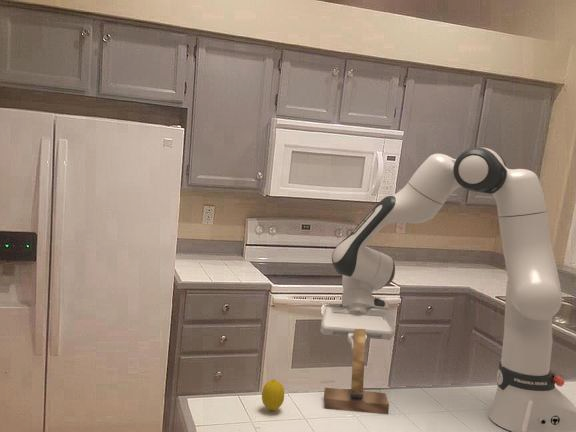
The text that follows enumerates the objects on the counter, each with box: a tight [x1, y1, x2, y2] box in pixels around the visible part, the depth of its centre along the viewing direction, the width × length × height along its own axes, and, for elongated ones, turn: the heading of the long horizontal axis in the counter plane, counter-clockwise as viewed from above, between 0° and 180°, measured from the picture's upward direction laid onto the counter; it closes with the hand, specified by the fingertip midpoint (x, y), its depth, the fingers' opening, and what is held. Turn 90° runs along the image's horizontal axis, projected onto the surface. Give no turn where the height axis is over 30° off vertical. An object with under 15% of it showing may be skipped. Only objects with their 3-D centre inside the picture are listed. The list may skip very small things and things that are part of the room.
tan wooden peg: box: [350, 329, 366, 398], centre depth 135 cm, size 3×3×17 cm
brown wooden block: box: [323, 387, 390, 415], centre depth 135 cm, size 16×7×3 cm, turn 87°
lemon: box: [261, 378, 285, 412], centre depth 128 cm, size 6×6×8 cm
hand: (357, 350), depth 141 cm, fingers closed
